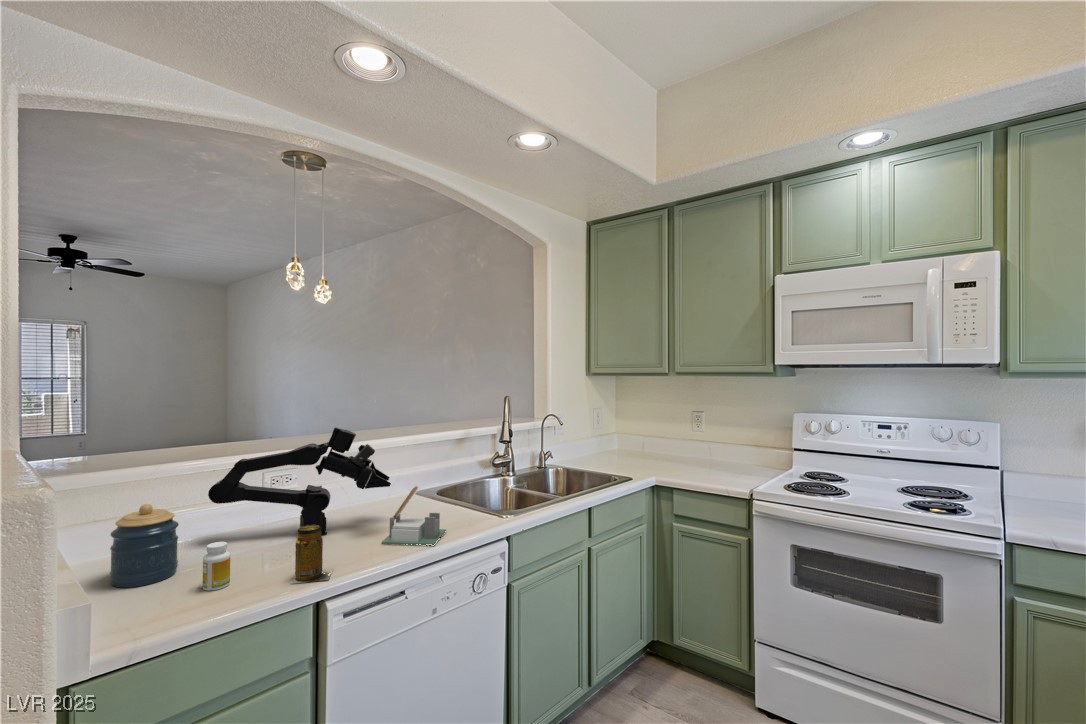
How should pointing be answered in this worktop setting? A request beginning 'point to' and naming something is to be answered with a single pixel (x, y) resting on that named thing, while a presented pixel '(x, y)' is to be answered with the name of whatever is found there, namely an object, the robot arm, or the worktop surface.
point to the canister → (144, 548)
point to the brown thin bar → (405, 502)
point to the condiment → (309, 555)
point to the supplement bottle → (216, 567)
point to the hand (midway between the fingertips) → (389, 481)
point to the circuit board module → (415, 530)
